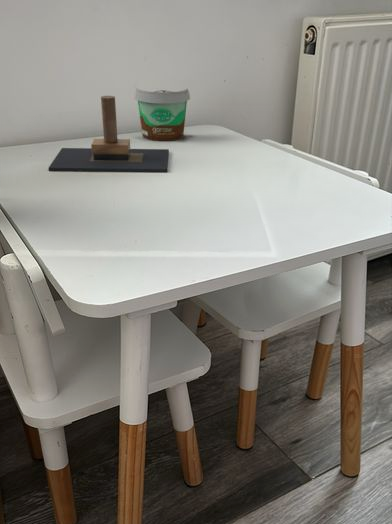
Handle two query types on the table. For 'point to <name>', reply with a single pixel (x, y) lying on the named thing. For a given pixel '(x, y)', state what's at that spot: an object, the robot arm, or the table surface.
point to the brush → (110, 135)
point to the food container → (162, 114)
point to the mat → (111, 161)
